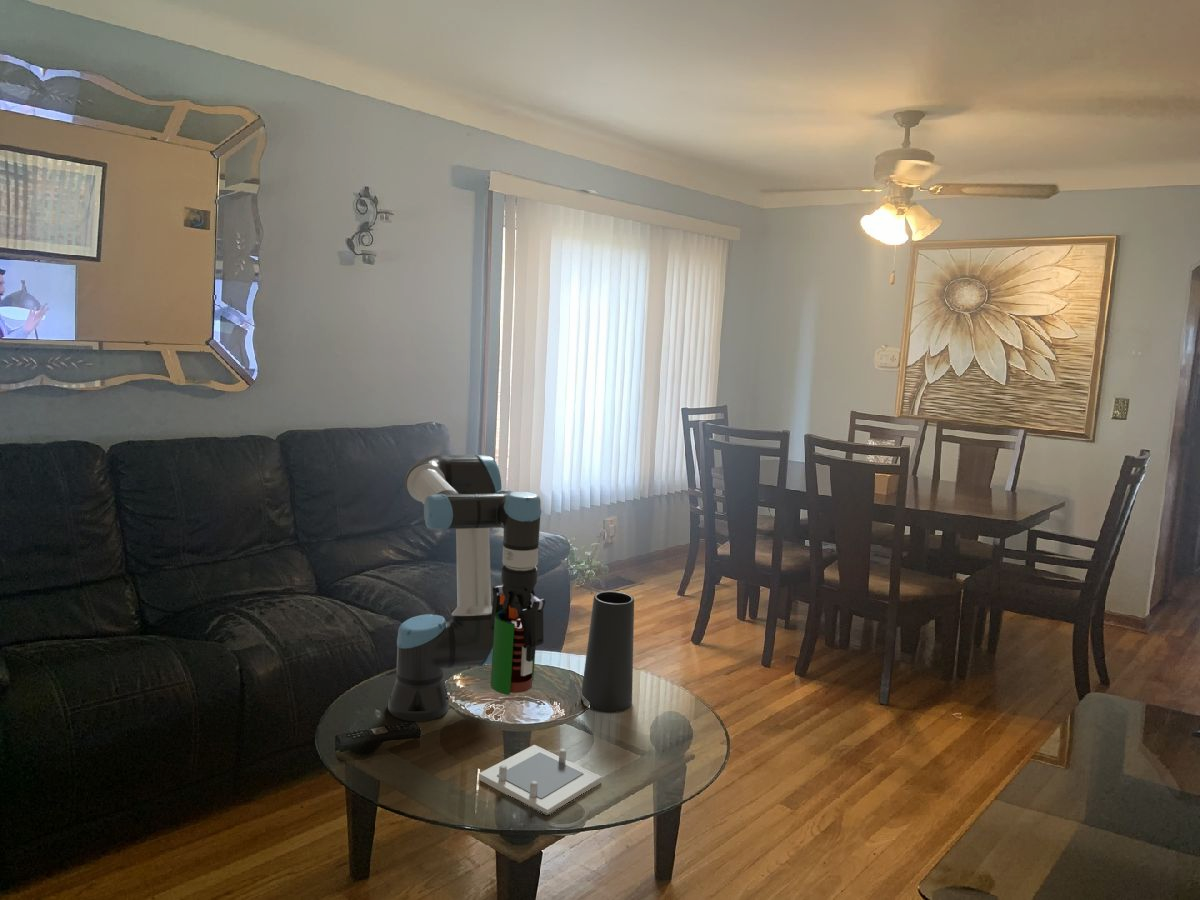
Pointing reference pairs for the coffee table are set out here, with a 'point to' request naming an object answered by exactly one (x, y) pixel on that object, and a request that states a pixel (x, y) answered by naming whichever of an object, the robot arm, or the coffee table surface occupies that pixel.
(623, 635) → the vase
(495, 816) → the coffee table surface
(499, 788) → the mounting board
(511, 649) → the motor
